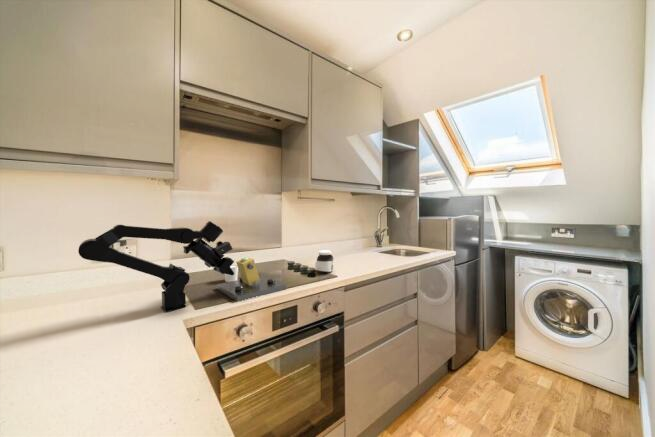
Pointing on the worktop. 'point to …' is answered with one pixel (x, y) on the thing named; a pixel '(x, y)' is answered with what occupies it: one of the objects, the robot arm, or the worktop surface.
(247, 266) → the yellow rectangular block
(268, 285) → the tribrach plate
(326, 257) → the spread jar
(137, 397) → the worktop surface
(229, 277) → the white cup
